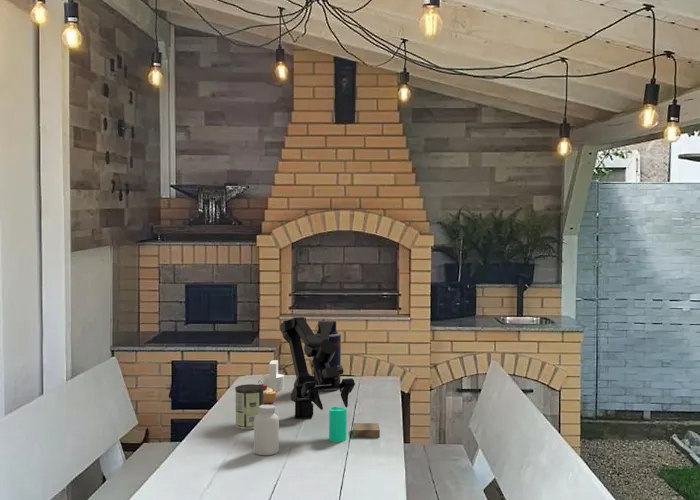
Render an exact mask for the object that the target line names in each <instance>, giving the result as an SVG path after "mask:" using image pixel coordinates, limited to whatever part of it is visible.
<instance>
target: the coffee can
mask: <svg viewBox="0 0 700 500" xmlns="http://www.w3.org/2000/svg"><path fill="white" fill-rule="evenodd" d="M234 389H235V428H238V429H240V428H241V430H254V418H255V416H256V415H257V414H259V413H258V412H259V406H261V405H264V404H263V397H264V395H263V390H264V387H263V386H261V385H259V384H251V383H249V384H241V385H237V386H235V388H234Z"/></svg>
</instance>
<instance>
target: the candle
mask: <svg viewBox="0 0 700 500" xmlns="http://www.w3.org/2000/svg"><path fill="white" fill-rule="evenodd" d="M328 412H329V413H328V415H329V416H328V417H329V420H328V423H329V424H328V425H329V426H328V440H329V441H330V442H335V443H339V442H340V443H341V442H345V441H346V440H347V408H346V407H339V406H334V407H330V408H329V411H328Z"/></svg>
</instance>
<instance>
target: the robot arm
mask: <svg viewBox="0 0 700 500" xmlns="http://www.w3.org/2000/svg"><path fill="white" fill-rule="evenodd" d="M279 327H280V332H281V334H282V337H283V339H284V340H285V341H286V342H287V343H288V345H289V349H290V353H291V360H292V364H293V368H294V373H295V380H294V383H293V389H292V391H291V393H290V399H291V401H292V402H294V419H312V418H313V416H314V405H315V406H317V408H319V409H320V411H323V409H324V406H323V403H322V400H321V397H320V395H319V392H320V391H331V390H335V389H336V390H339V392H340V393H339V394H340V398H341V401H342V403H343V406H344V408H345V409H347V408H348V406H349V394H350V393H352V391H353V389H354V387H355V385H356V382H355V380H354V378H350V377H349V378H342V379H341V381H340V383H336V384H335V381H337V377H338V376H340V377H341V376H342V375H344V368H343V364H341V365H337V366H336V367H330V366H329V362H330V361H331V360H332V358H333V356H334V353H335V351H336V346H335V345H334V344H333V343H332V342H330V341H328V339H323V340H322V339H321V338H319V337H317V336H315V332H313V329H311V327H310V325H309V324H308V321H307V318H306V317H304V316H296V317H295V316H294V317H292V318H290V319H287V320H283V321H282V322H281V323H280V325H279ZM302 343H303V344H304V345H303V344H302ZM303 347H304V348H303ZM305 355H306V356H307V357H308V358H312V361H311V365H310V367H311V368H314V371H315V375H316V377H315V379H316V380H317V381H318V384H319V385H316V383H315V379H314V374H310V373H309V371H308V366H307V360H306V356H305ZM313 357H314V358H313ZM336 390H335V391H336Z"/></svg>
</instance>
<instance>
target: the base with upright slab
mask: <svg viewBox="0 0 700 500" xmlns="http://www.w3.org/2000/svg"><path fill="white" fill-rule="evenodd" d="M268 365H269V367H268V372H269V373H267V374H264V375H263V377H262V379H263V382H262V383H263V384H265V385H267V387H268V388H271V389H273V390H275V391H278V392H281V391H280V390H282V391H284V390H285V374H281V373H279V360H277V359H274V360H273V359H272V360H270V362H269V364H268ZM283 389H284V390H283Z"/></svg>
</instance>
